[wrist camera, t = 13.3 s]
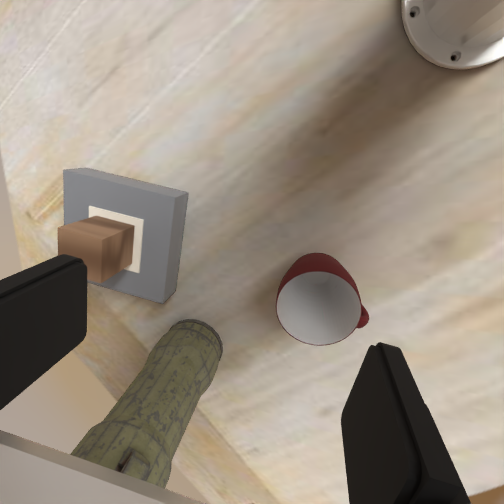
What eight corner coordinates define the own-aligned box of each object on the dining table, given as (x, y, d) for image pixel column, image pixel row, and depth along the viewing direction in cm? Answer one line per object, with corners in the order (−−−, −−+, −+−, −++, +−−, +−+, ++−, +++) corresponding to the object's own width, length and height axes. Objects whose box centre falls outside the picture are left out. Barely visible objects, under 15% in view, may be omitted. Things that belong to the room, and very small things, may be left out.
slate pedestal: (86, 167, 40) (62, 169, 36) (188, 192, 38) (174, 197, 34) (85, 265, 44) (63, 276, 40) (175, 290, 43) (162, 304, 39)
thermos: (240, 334, 43) (22, 901, 11) (200, 385, 48) (-43, 898, 15) (188, 299, 43) (-197, 771, 10) (153, 353, 47) (-199, 805, 15)
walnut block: (96, 215, 37) (57, 227, 31) (134, 225, 36) (102, 239, 31) (95, 253, 38) (58, 271, 33) (132, 263, 38) (100, 283, 32)
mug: (381, 267, 37) (405, 307, 27) (346, 318, 39) (357, 370, 30) (302, 228, 37) (298, 255, 28) (273, 282, 40) (261, 322, 30)
